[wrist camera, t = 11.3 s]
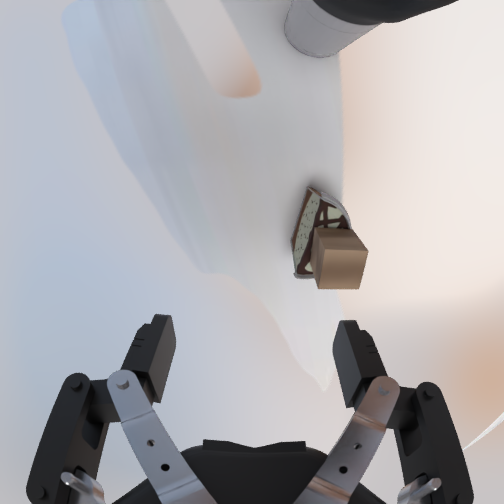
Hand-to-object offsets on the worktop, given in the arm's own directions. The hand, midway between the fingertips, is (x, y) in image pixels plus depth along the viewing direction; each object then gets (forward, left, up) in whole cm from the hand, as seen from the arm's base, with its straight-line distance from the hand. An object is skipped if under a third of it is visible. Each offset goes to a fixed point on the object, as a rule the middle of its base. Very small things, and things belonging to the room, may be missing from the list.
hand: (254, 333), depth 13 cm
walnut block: (+6, +10, -22) cm, 25 cm away
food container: (+6, +10, -32) cm, 34 cm away
